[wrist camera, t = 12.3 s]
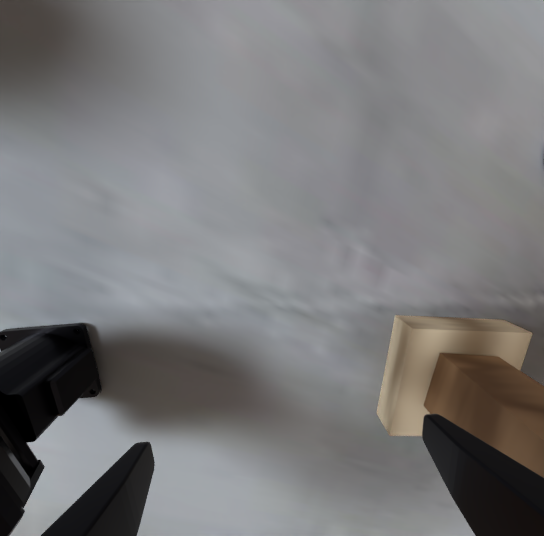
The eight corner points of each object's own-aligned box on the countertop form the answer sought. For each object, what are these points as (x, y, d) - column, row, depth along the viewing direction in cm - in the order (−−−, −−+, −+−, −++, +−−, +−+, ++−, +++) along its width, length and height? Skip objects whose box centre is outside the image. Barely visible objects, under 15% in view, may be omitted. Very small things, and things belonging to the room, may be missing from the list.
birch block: (374, 408, 25) (389, 435, 22) (392, 312, 23) (412, 328, 20) (471, 410, 26) (498, 436, 23) (498, 317, 23) (532, 333, 20)
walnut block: (423, 405, 21) (619, 649, 10) (439, 352, 20) (688, 562, 9) (478, 407, 22) (729, 644, 10) (498, 356, 20) (811, 561, 9)
